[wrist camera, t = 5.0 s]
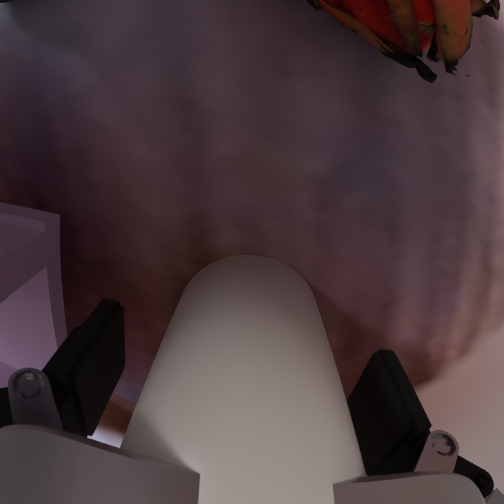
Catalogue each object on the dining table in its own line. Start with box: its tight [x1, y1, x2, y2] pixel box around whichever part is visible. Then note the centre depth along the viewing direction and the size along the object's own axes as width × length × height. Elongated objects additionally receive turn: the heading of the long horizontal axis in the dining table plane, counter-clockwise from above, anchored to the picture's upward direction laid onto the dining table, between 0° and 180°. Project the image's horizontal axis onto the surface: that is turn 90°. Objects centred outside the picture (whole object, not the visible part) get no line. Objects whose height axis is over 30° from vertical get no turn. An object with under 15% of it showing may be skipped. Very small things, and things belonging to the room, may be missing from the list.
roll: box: [120, 255, 366, 504], centre depth 9 cm, size 6×6×10 cm
